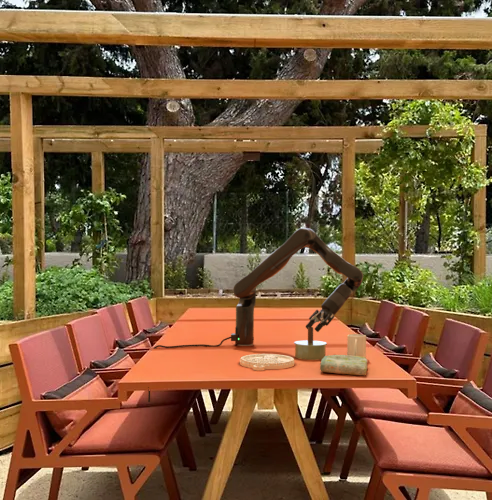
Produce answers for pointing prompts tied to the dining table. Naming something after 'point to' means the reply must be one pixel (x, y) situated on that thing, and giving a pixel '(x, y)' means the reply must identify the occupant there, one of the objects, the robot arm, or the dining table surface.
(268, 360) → the medallion
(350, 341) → the mug
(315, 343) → the lid
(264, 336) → the dining table surface
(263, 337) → the dining table surface
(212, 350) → the dining table surface
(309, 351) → the bowl
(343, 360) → the towel
